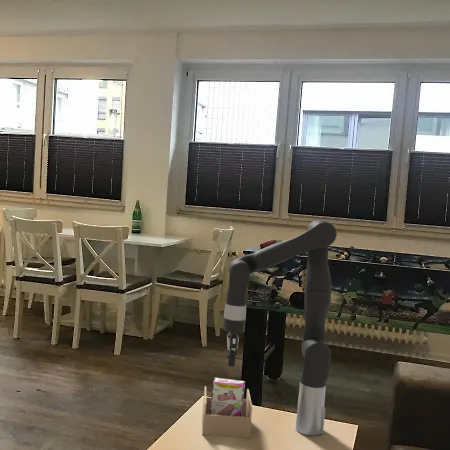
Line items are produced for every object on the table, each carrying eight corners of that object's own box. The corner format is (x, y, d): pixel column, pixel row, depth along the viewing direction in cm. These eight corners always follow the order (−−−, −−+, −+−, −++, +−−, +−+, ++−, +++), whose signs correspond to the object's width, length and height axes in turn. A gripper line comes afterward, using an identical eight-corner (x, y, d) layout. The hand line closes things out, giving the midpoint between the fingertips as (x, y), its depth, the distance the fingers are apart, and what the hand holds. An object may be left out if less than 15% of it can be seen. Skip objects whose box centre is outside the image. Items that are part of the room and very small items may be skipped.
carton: (246, 418, 209) (248, 389, 208) (249, 437, 192) (252, 406, 192) (202, 415, 208) (204, 386, 207) (202, 434, 192) (204, 403, 191)
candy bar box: (208, 427, 198) (212, 381, 197) (210, 421, 203) (214, 376, 202) (240, 431, 197) (244, 385, 196) (241, 425, 202) (245, 380, 201)
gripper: (247, 322, 190) (242, 369, 192) (244, 313, 205) (240, 356, 206) (224, 321, 190) (220, 368, 191) (223, 311, 204) (219, 355, 205)
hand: (230, 362), depth 199 cm, fingers open, 8 cm apart
